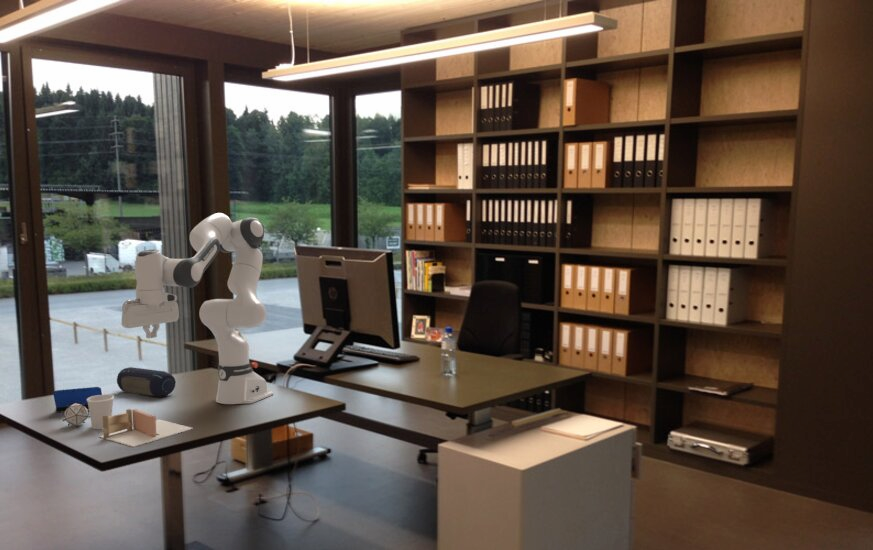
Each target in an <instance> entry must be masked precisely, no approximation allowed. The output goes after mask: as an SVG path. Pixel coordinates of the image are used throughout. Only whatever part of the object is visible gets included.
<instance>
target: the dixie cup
mask: <svg viewBox="0 0 873 550" xmlns="http://www.w3.org/2000/svg"><path fill="white" fill-rule="evenodd" d="M114 398H115V397H114V395H112V394H102V395H96V396H92V397H89V398H87V401H88V407H89V410H88V411H89V412H88V413H89V416H90V418H89V419H90V423H91V429H93V428H94V429H93V430H103V429H102V428H103V416H104V415H108V417H111V416H113V405H114Z"/></svg>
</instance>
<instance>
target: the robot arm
mask: <svg viewBox="0 0 873 550" xmlns="http://www.w3.org/2000/svg"><path fill="white" fill-rule="evenodd" d="M264 237H265V228H264V225H263V223H262V222H261V220H260V219H258V218H257V217H245V218H243V219H240V220H236V221H234V222H232V220H231V219H230V217H229V216H228V215H227V214H225V213H222V212H217V213H213V214H211V215H209V216H207V217H205V218H204V219H203V220H202V221H200V222H199V223H198V224H196V225H195V226H194V227H193V229H192V230H191V232H189V243H190V245H191V247H192V249H193V250H194V251H196V254H195V255H194V256H193V257H189V258H188V257H187V258H169V257H167V256H165V255H163V254H162V253H161V250H158V249H146V250H145V249H144V250H142V251H139V252H138V253H137V254H136V257H135V263H134V264H135V265H134V268H135V269H134V272H135V273H134V276H135V280H136V286H135V298H136V299H127V300H125V301H124V303H123V304H122V306H121V308H122V311H121V326H122V327H123V328H125V329H134V328H140V327H142V329H143V331H144V332H145V336H146V337H145V338H146V339H153V338H157V337H158V332H159V331H158V330H159V329H160V325H161V324H167V323H172V322H173V323H174V322H177V321H178V320H179V318H180V314H179V313H180V312H179V304H178V302H177V301H178V296H177V295H176V294H173V293H170V292H166V291H165V290H164V286H168V287H181V288H186V289H191V288H194V287H196V286H197V285H198V284H199V283H200V282H201V280H202V279H203V275H204V274H205V271H206V270H207V269H208V268H209V266H210V265H211V264H212V262H214V260H215V259H216V257H217V256H218V254H219V252H221V253H225V254H231V253H234V252H235V260H234V262H233V265H232V267H231V270H230V273H229V277H228V279H227V287H228V289H229V291H230V292H231V293H232V294H234V295H235V298H214V299H209V300H205V301H204V302H203V303H202V304H201V306H200V308H199V313H198V314H199V319H200V321H201V323H202V324H203V325H204V326H206V327H207V328H208V329H209V330H210V331H211V333H212V334H213V336H214V338H215V341H216V344H217V349H218V361H219V362H218V364H217V374H218V387H217V392H216V398H215V402H216V403H218V404H222V405H239V404H240V405H241V404H254V403H256V402H258V401H261V400H263V399H266V398H268V397H270V396H273V395H274V392H273V391H272V390H270V389H268V385H267V381H266V379H265V378H264V377H262V376H261V375H259V374H258V373H256V372H255V371H254V369H257V368H258V363H257V362H254V361H252V362H250V351H249V350H250V349H249V348H250V347H249V343H248V342H247V340H246V339H245V338H244V337H242V336H240V335H239V334H238V332H237V331H236V329H253V328H258V327H261V326H262V325H263V324H264V322H265V321H266V319H267V310H266V308H267V307H266V306H265V305H264V304H263V302H262V301H260V299H259V298H258V296H257V288H258V283H259V279H260V276H261V273H262V267H263V257H264V256H263V253H262V251H261V250H260V249H259V248H260V247H261V246H262V245H263V243H264V242H263V239H264ZM151 327H152V331H151V330H150V329H151ZM253 368H254V369H253Z"/></svg>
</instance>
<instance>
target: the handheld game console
mask: <svg viewBox="0 0 873 550" xmlns="http://www.w3.org/2000/svg"><path fill="white" fill-rule="evenodd" d="M52 394H53V399H54V405H55V411H56V413H61V411H64V412H65V410H66V409H67V408H68V407H67V405H69V406H71V405H73V404H75V401H76V403H78V404H82V405H83V403H85V404H84V406H85V407H86V408H87V409H88V408H89V407H88V401H87V398H89V397H92V396H96V395H103V393H102V388H101V387H99V386H91V387H81V388H80V387H79V388H71V389H69V388H67V389H58V390H55V391H53V393H52Z"/></svg>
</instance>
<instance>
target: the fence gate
mask: <svg viewBox="0 0 873 550" xmlns="http://www.w3.org/2000/svg"><path fill="white" fill-rule="evenodd" d="M156 420H157V416H156V415H152V414H149V413H147V412H144V411H142V410H138V409H136V408H135V409H132V427H133V428H135V429H137V430H140V431H142V432H144V433H147V434H149V435H151V436H152V437H153V436H156Z"/></svg>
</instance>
